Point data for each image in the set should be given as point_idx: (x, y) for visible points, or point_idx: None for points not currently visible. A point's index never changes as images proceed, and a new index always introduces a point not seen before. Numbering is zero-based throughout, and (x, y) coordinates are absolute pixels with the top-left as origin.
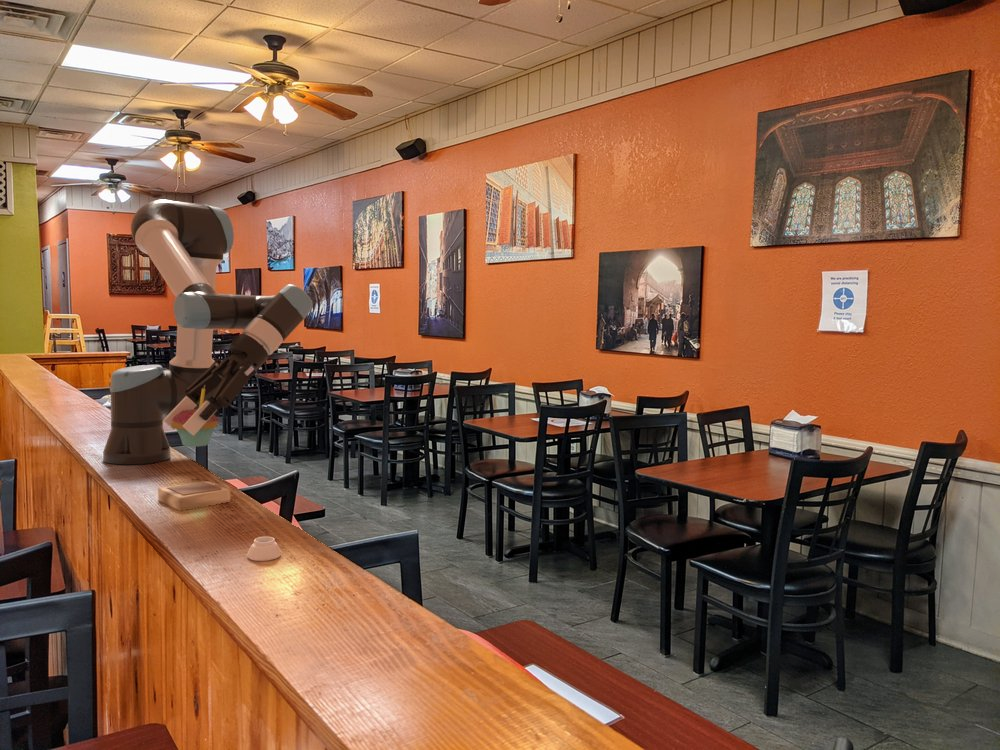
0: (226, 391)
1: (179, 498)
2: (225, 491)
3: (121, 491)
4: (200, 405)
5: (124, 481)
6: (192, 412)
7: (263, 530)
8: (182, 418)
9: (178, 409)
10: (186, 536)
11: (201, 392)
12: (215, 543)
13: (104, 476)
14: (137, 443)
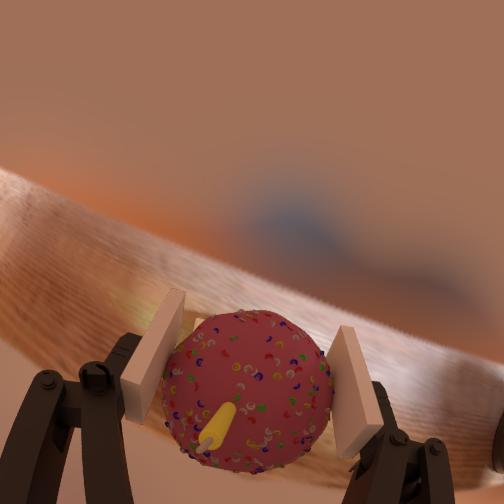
0: (20, 417)
1: (198, 318)
2: None
3: (392, 333)
4: (220, 407)
5: (442, 368)
6: (222, 364)
7: (24, 314)
8: (228, 321)
9: (349, 378)
10: (84, 238)
11: (217, 424)
12: (40, 240)
13: (478, 359)
14: None
